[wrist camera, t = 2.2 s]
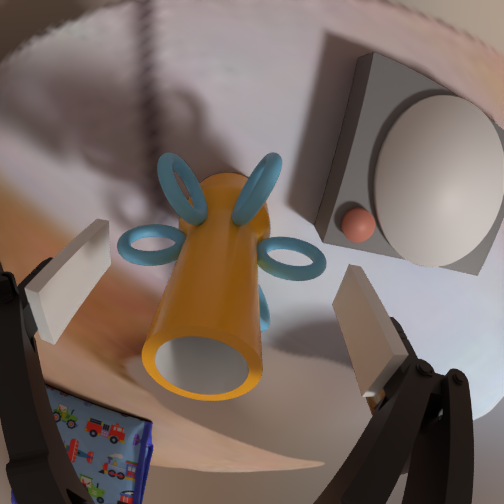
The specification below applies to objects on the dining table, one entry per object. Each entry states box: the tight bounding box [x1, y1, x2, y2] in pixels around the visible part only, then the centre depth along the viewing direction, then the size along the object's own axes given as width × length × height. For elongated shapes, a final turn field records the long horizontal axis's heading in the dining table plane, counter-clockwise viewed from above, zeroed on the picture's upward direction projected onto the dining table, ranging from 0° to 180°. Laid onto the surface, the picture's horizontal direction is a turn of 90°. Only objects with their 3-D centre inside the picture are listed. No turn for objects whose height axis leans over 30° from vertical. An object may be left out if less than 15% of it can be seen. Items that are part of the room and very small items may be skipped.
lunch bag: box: [11, 385, 153, 504], centre depth 27 cm, size 22×14×29 cm, turn 75°
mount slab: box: [314, 52, 504, 276], centre depth 19 cm, size 18×14×4 cm
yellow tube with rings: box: [117, 152, 326, 401], centre depth 15 cm, size 12×10×15 cm
